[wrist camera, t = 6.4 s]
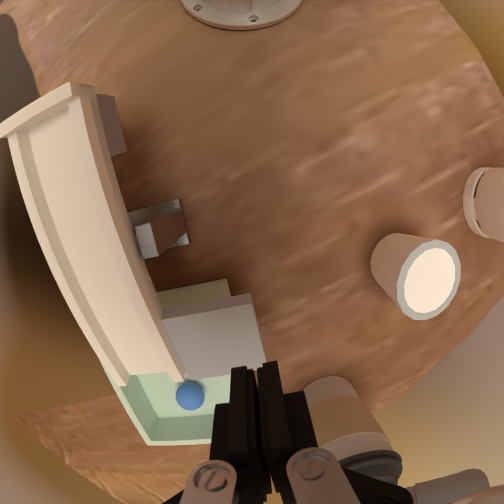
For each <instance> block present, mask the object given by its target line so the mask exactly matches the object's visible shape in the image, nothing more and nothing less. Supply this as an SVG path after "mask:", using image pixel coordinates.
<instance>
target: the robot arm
mask: <svg viewBox="0 0 504 504" xmlns="http://www.w3.org/2000/svg"><path fill="white" fill-rule="evenodd" d="M181 2H182V4H183V6H184V8H185V9H186V10H187V12H188V13H189V14H190V15H191V16H193V17H194V18H196V19H197V20H199V21H201V22H203V23H205V24H207V25H210V26H214V27H217V28H221V29H229V30H251V29H259V28H263V27H268V26H271V25H274V24H276V23H279V22H281V21H283V20H284V19H286V18H288V17H290V16H291V15H292V14H293V13H294V12H295V11H296V10H297V9H298V7H299V6H300V4H301V3H302V0H181ZM262 366H263V367H259V368H257V375H258V387H257V383H256V379H255V375H254V371H253V369H247V366H241V367H234V368H231V380H230V398H229V403H219V404H216V405H215V409H214V419H213V428H212V438H211V448H210V458H209V461H205V462H202V463H201V464H199V465H197V466H196V467H195V468H194V469H193V470H192V471H191V473H190V475H189V477H188V480H187V483H186V486H185V489H184V490H182V491H181V492H179V493H178V494H176V495H175V496H173V497H172V498H170V499H169V500H167V501H166V502H164V503H162V504H263V502H266V501H267V498H266V494H271V493H272V488H271V477H272V481H273V484H274V486H275V490H276V492H277V493H279V492H280V495H281V497H282V501H283V504H504V485H498V486H494V487H490V485H489V481H488V478H487V476H486V474H485V473H484V472H482V471H481V470H479V469H468V470H465V471H461V472H459V473H455V474H452V475H448V476H445V477H441V478H437V479H433V480H430V481H426V482H421V483H416V484H415V486H412V487H407V488H403V487H401V486H398V485H394V484H391V483H388V482H385V481H381V480H378V479H375V478H372V477H369V476H367V475H364V474H361V473H358V472H355V471H353V470H350V469H347V468H345V467H342V466H340V464H339V462H338V460H337V458H336V457H335V456H334V454H333V453H332V452H330V451H328V450H327V449H323V448H320V447H318V444H317V440H316V436H315V432H314V428H313V424H312V420H311V416H310V412H309V408H308V404H307V400H306V396H305V393H304V391H299V392H294V393H288V394H283V391H282V385H281V380H280V374H279V369H278V363H277V361H271V362H266V363H262ZM258 390H259V391H258ZM270 474H271V476H270Z"/></svg>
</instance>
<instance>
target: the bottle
mask: <svg viewBox="0 0 504 504" xmlns="http://www.w3.org/2000/svg"><path fill="white" fill-rule="evenodd" d="M484 173H485V174H484ZM483 174H484V175H483ZM482 175H483V176H482ZM481 176H482V177H481ZM480 177H481V179H480ZM479 179H480V182H479V184H478V187H477V191H476V196H475V198H474V193H475V188H476V185H477V183H478V181H479ZM463 210H464V215H465V219H466V221H467V223H468V226H469V228H470V229H471V230H472V231H473V232H474V233H476V234H478V235H480V236H483V237H487V238H492V239H494V240H497V241H500V242H503V243H504V168H489V167H480V168H478V169H476V170H474V171H473V172H472V173H471V174H470V176H469V177H468V179H467V182H466V184H465V187H464V193H463ZM476 220H478V223H479V225H480V227H481V228H480V227H479V225H478V223H477V221H476Z"/></svg>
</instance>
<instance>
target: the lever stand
mask: <svg viewBox="0 0 504 504" xmlns="http://www.w3.org/2000/svg"><path fill="white" fill-rule="evenodd" d="M128 216H129V220H130V223H131V225H132V228H133V231H134V234H135V237H136V240H137V243H138V246H139V248H140V251H141V254H142V256H143V259H147V258H152V257H156V256H159V255H160V254H161V253H163V252H164V251H165V250H166V249H167V248H172V247H176V246H181V245H185V244H189V243H190V242H191V241H190V237H189V233H188V229H187V225H186V221H185V217H184V213H183V208H182V204H181V200H180V199H176V200H172V201H168V202H164V203H160V204H157V205H153V206H149V207H146V208H142V209H139V210H135V211H131V212H128Z"/></svg>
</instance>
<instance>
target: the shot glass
mask: <svg viewBox="0 0 504 504" xmlns="http://www.w3.org/2000/svg"><path fill="white" fill-rule="evenodd" d="M370 265H371V273H372V275H373V277H374V278H375V280H376V282H377V283H378V284H379V285H380V286H381V287H382V288H383V290H384V291H385V292H386V293H387V294H388V295H389V296H390V298H391V299H392V300H393V301H394V302H395V303H396V305H397V306H398V307H399V308H400V309H401V310H402V312H403V313H405V314H406V315H407V316H409V317H410V318H412V319H415V320H427V319H429V318H432V317H435V316H437V315H438V314H439V313H440V312H442V311H443V310H444V309H445V308H446V307H447V306H448V305H449V303H450V302H451V300H452V299H453V297H454V296H455V294H456V291H457V288H458V285H459V281H460V261H459V258H458V255H457V252H456V251H455V250H454V249H453V248H452V247H451V245H450V244H449V243H447V242H444V241H440V240H436V239H431V238H425V237H419V236H413V235H407V234H401V233H394V234H390V235H387V236H385V237H384V238H383V239H381V240H380V241H379V242H378V244H377V245H376V247H375V248H374V250H373V252H372V256H371V260H370Z"/></svg>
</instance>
